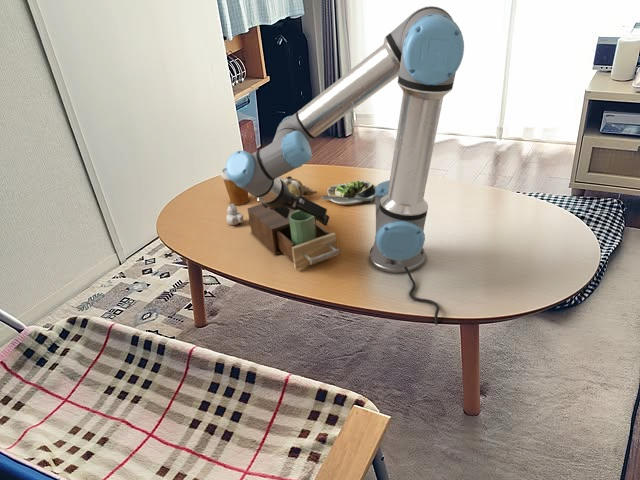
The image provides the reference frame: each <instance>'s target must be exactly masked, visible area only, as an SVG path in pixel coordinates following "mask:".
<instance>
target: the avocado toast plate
mask: <svg viewBox="0 0 640 480" xmlns="http://www.w3.org/2000/svg"><path fill="white" fill-rule="evenodd" d="M375 189H376V187H375V186H374V184H372V183H371V182H369V181H367V180H354V181H350V182H345V183H338V184H333V185H331V186H329V187H328V188H327V190H326V192H327V195H322V196H321V199H322V200H325V201H329V202H331V203H335V204H338V205H342V206H343V205H344V206H353V205H363V204H368V203H371V202H373V201H375Z"/></svg>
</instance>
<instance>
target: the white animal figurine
mask: <svg viewBox="0 0 640 480" xmlns="http://www.w3.org/2000/svg"><path fill="white" fill-rule="evenodd" d="M226 212H227V214H226V216H225V217H226V218H225V219H226V223H227V224H228V225H231V226H237V225H239V224H241V223H243V222H244V215H243V214H242V213H241V212H239V211H238V207H237V205H234V204H231V202H229V205H228V206H227V209H226Z"/></svg>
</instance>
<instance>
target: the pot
mask: <svg viewBox="0 0 640 480" xmlns="http://www.w3.org/2000/svg"><path fill="white" fill-rule="evenodd" d="M289 223H290V230H291V238H292V243H294V246H296V245H299V244H302V243H305V242H307V241H310V240H313V239H316V238H317V237H316V228H315V218H314V216H312V215H310V214H307V213H305V212H302V211H300V210H298V211H295V212H292V213H291V214H290V215H289Z"/></svg>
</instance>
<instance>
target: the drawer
mask: <svg viewBox="0 0 640 480" xmlns="http://www.w3.org/2000/svg"><path fill="white" fill-rule="evenodd" d="M315 228H316V237H317V238H316V239H313V240H310V241H307V242H305V243H302V244H299V245H296V246H294V243H292V238H291V230H290V226H288V227H285V228H282V229H279V230H276V231H275V237H276V244H277V249H278V250H279V251H281V252H282V253H281V254H283V255H284V256H285V258H287V259H288V260H289V261H291V263H292V264H293V267H294V269H295V271H296V270H300V269H302V268H305V267H308V266H311V265H314V264H317V263H320V262H322V261H325V260H327V259H331V258H334V257H336V256H339V255H341V250H340V249H339V248H338V247H337V246H338V245H337V236H336V233H335V232H331V233H329V231H328V230H326V229H325V228H324V227H323V226H321V225H319V224H318V223H317V221H316V222H315Z"/></svg>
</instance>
